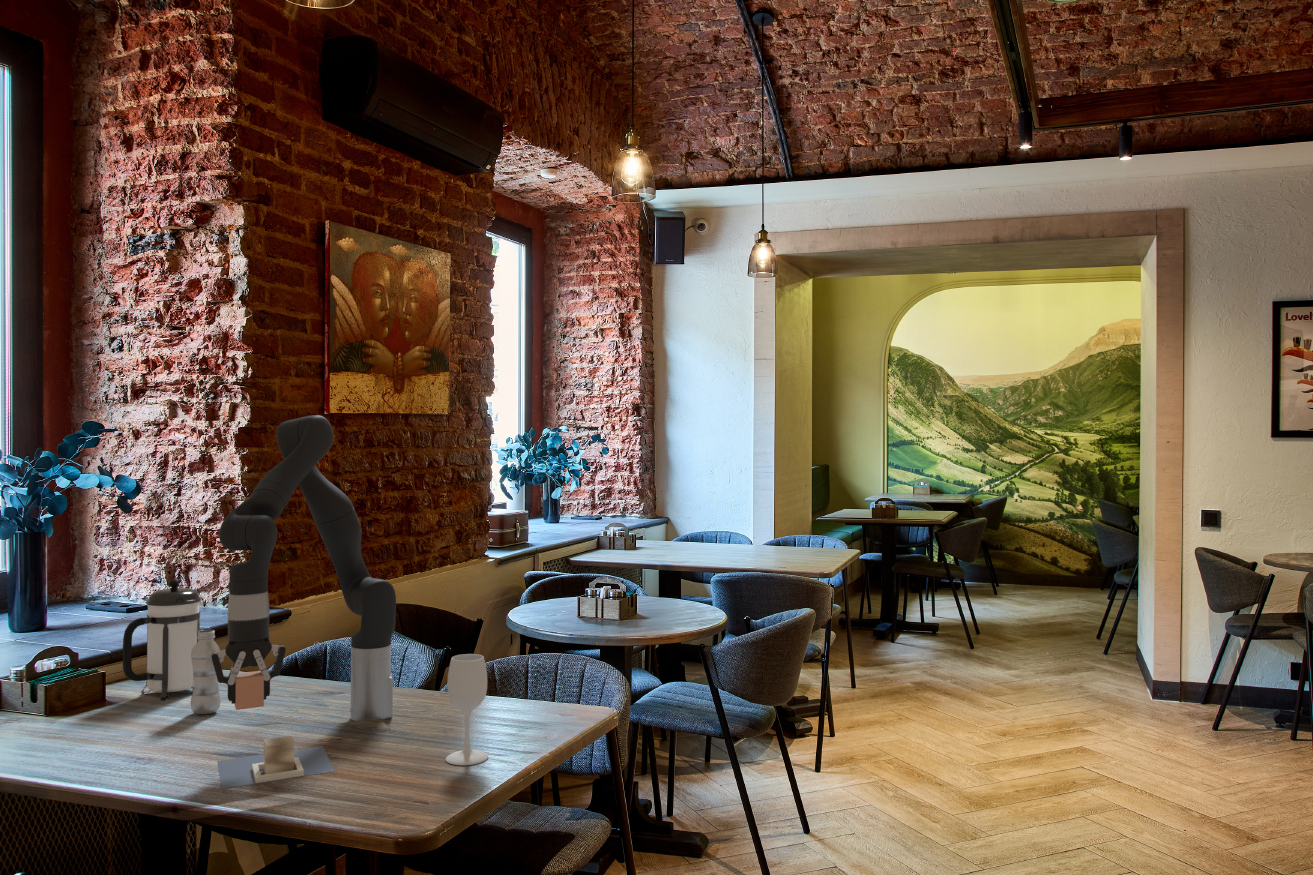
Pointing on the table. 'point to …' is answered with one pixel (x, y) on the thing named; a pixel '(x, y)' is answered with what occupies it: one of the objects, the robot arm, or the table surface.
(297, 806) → the table surface
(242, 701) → the terracotta block
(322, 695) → the table surface
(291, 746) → the birch block
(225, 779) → the grey board
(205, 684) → the plastic bottle
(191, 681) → the coffee press
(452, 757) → the wineglass
